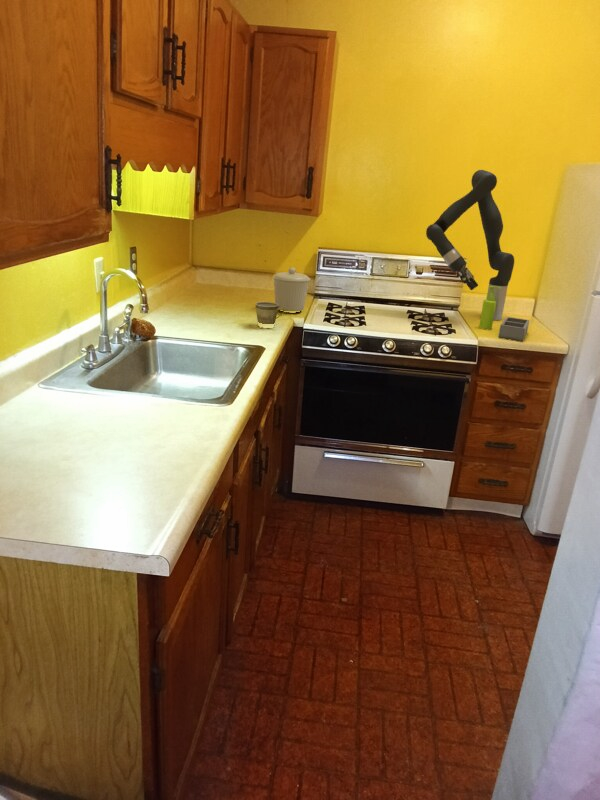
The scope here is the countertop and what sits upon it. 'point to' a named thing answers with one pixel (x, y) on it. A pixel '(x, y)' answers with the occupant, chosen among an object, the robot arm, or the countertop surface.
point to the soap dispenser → (488, 310)
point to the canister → (291, 290)
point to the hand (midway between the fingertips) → (474, 287)
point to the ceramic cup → (267, 312)
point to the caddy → (514, 329)
